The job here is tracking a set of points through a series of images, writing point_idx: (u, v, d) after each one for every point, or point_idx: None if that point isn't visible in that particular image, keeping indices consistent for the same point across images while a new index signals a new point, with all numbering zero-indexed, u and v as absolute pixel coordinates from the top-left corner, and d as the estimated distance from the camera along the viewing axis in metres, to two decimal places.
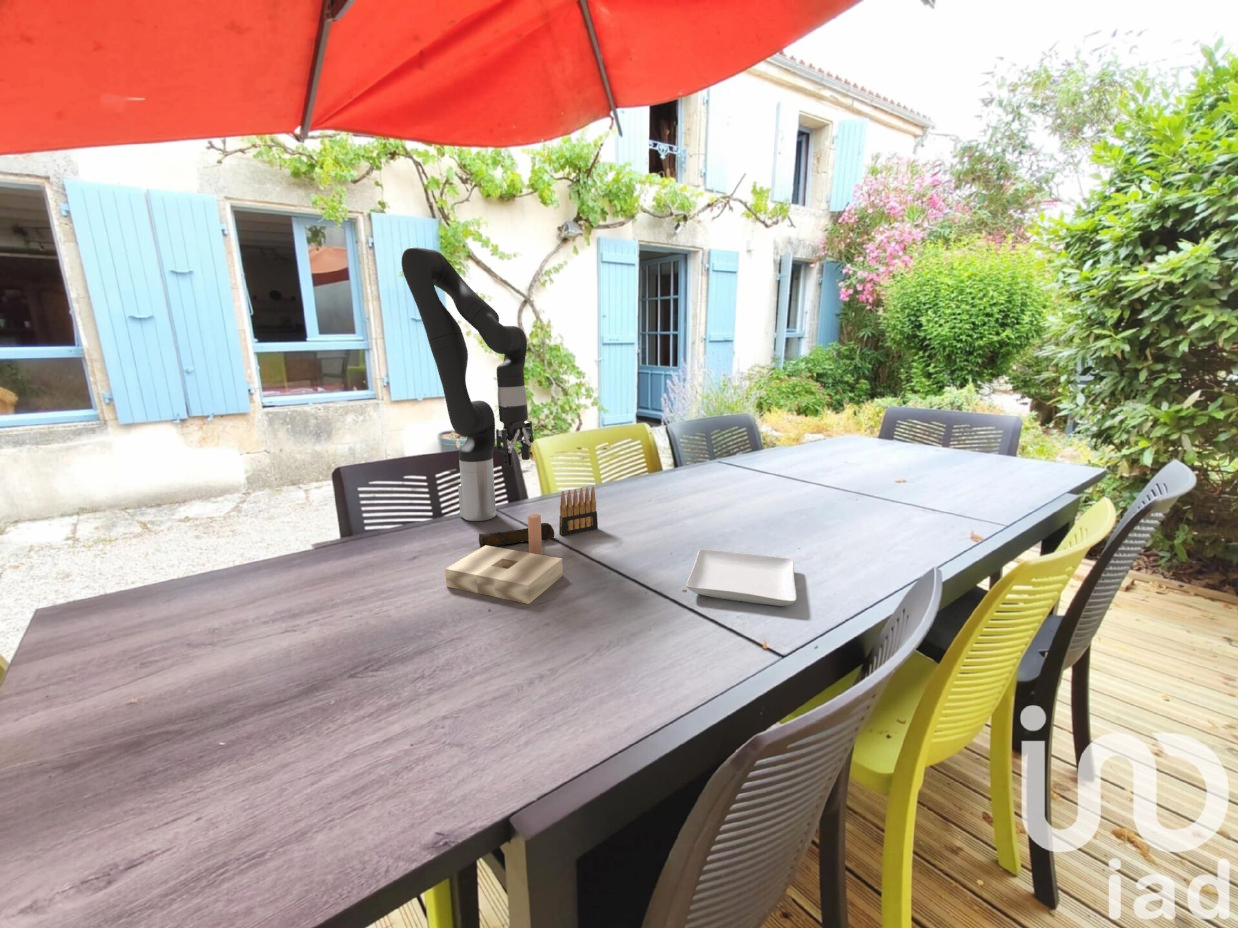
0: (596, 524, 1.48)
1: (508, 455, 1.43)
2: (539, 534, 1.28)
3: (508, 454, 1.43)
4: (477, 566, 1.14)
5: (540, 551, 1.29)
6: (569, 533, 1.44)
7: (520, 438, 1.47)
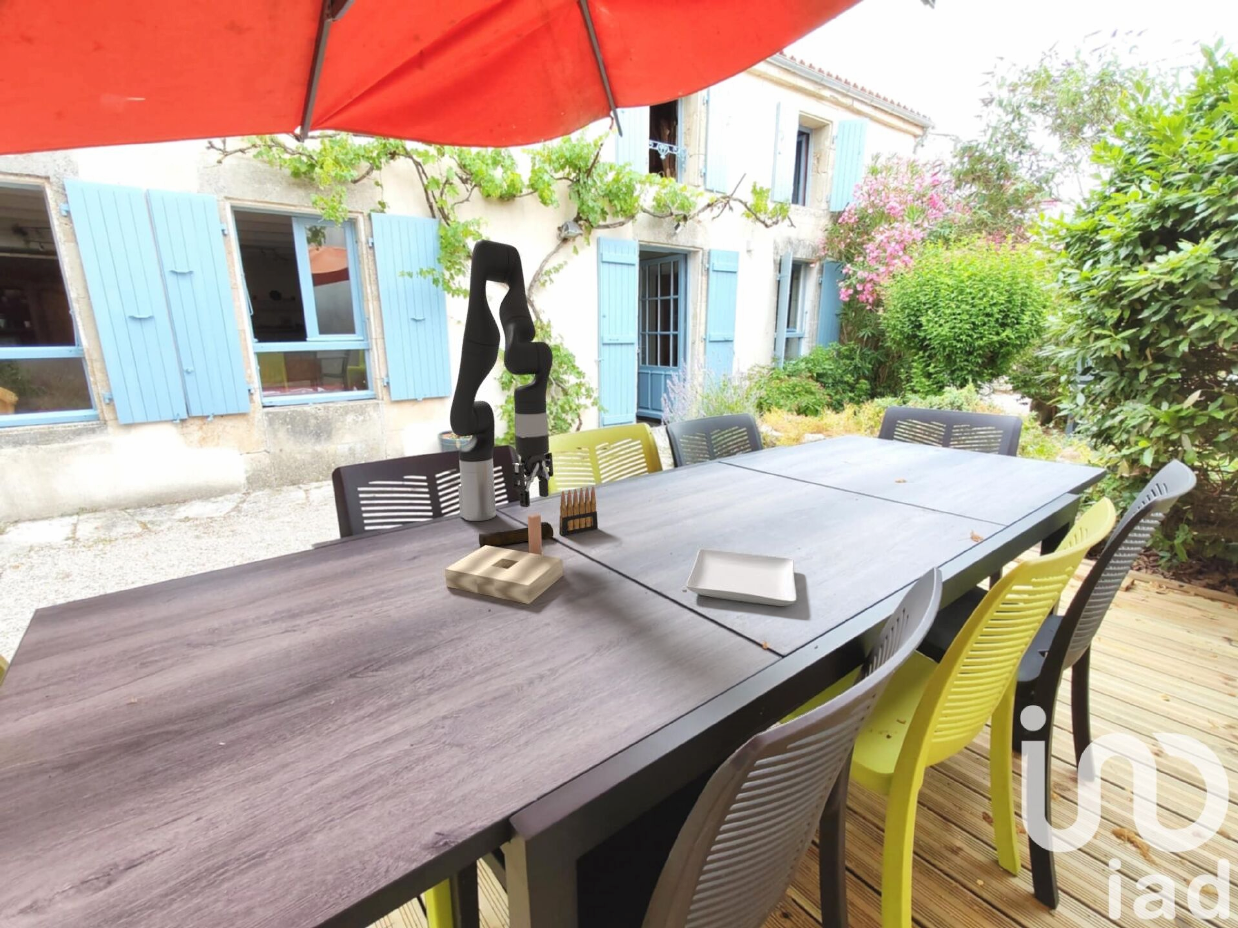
0: (596, 524, 1.48)
1: (525, 494, 1.21)
2: (539, 534, 1.28)
3: (525, 493, 1.21)
4: (477, 566, 1.14)
5: (540, 551, 1.29)
6: (569, 533, 1.44)
7: (539, 473, 1.26)
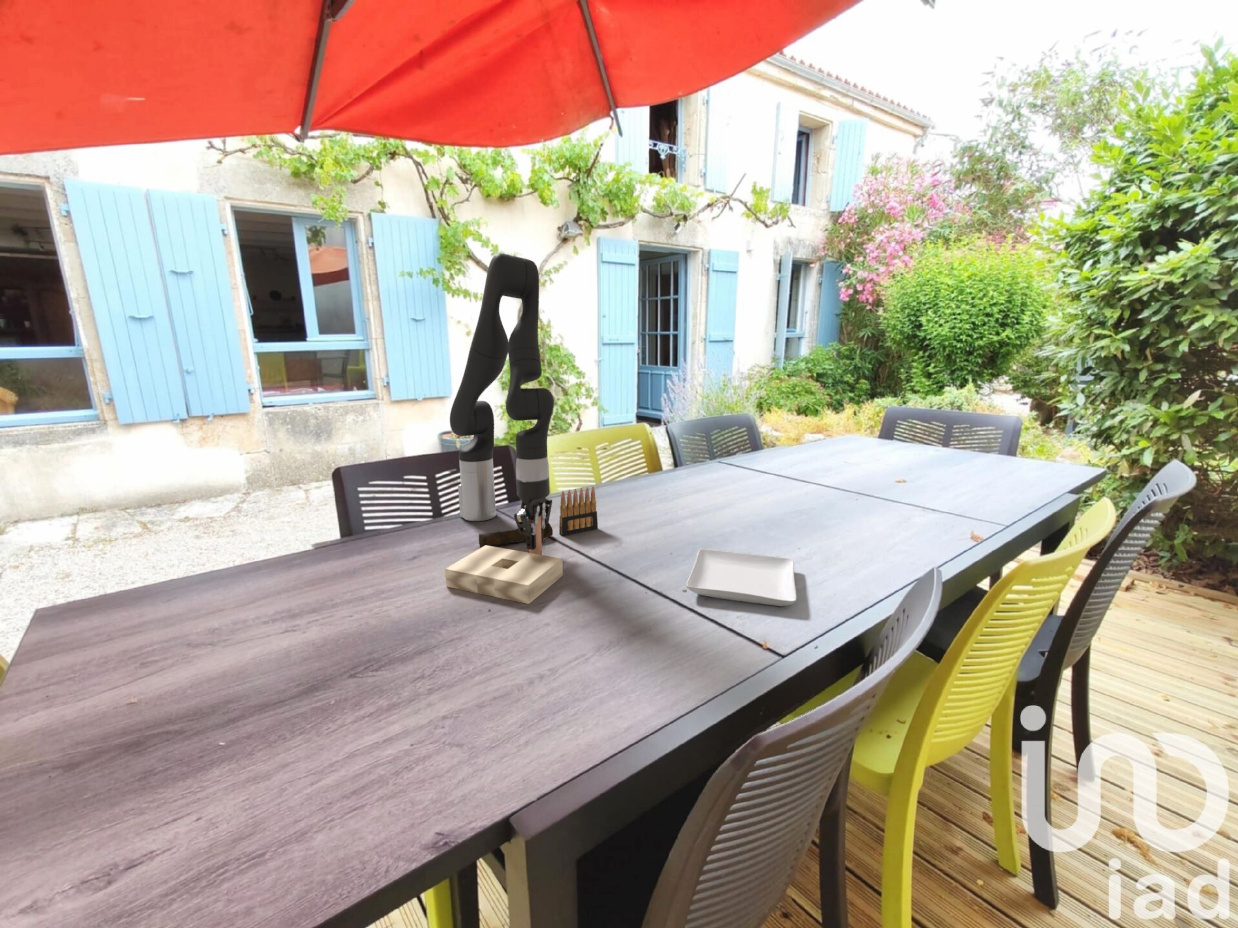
0: (596, 524, 1.48)
1: (531, 537, 1.26)
2: (539, 534, 1.28)
3: (532, 536, 1.26)
4: (477, 566, 1.14)
5: (540, 551, 1.29)
6: (569, 533, 1.44)
7: (537, 514, 1.27)
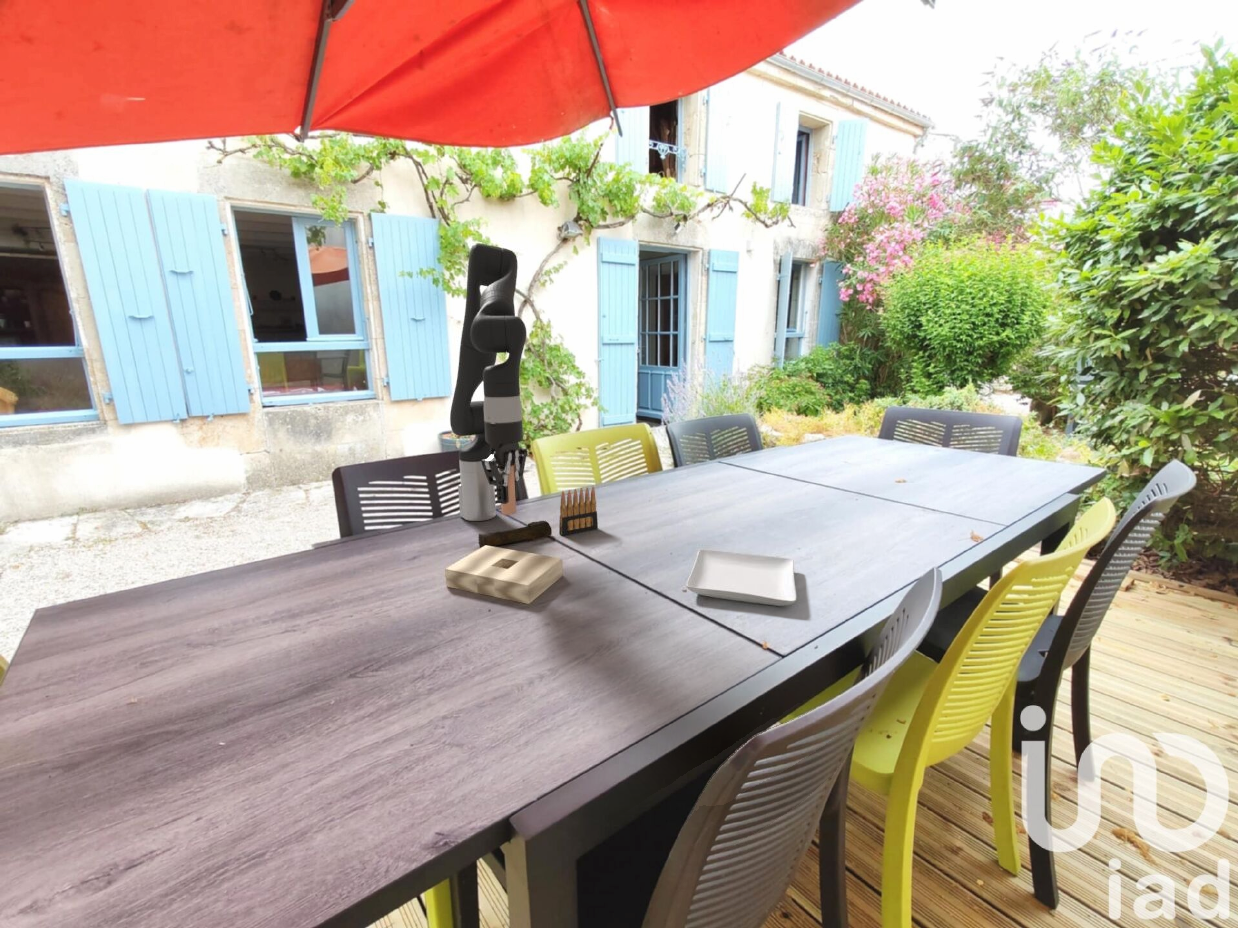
0: (596, 524, 1.48)
1: (503, 489, 1.10)
2: (513, 486, 1.12)
3: (503, 488, 1.10)
4: (477, 566, 1.14)
5: (514, 506, 1.13)
6: (569, 533, 1.44)
7: (509, 462, 1.11)
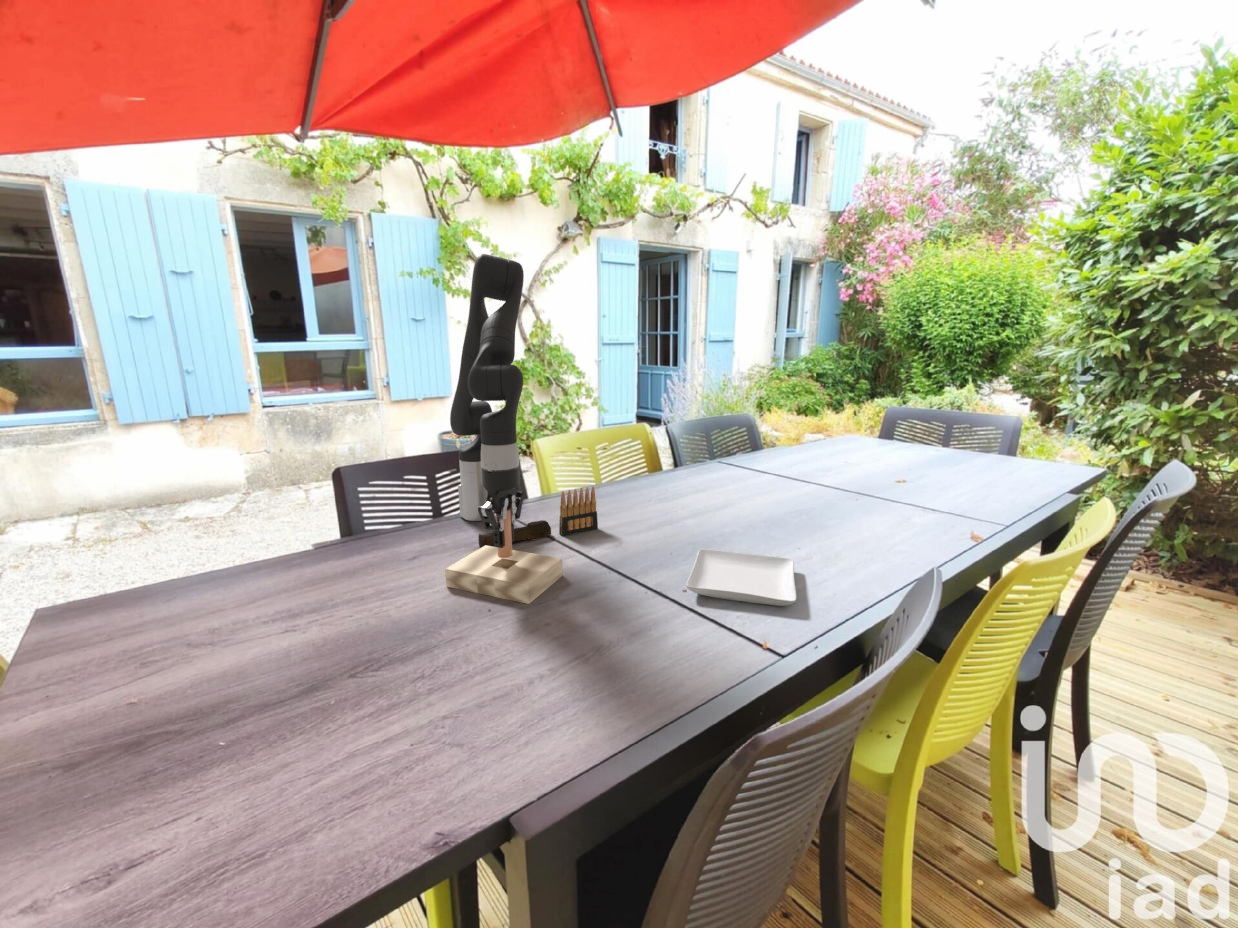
0: (596, 524, 1.48)
1: (499, 534, 1.12)
2: (509, 530, 1.13)
3: (499, 532, 1.12)
4: (477, 566, 1.14)
5: (510, 549, 1.15)
6: (569, 533, 1.44)
7: None
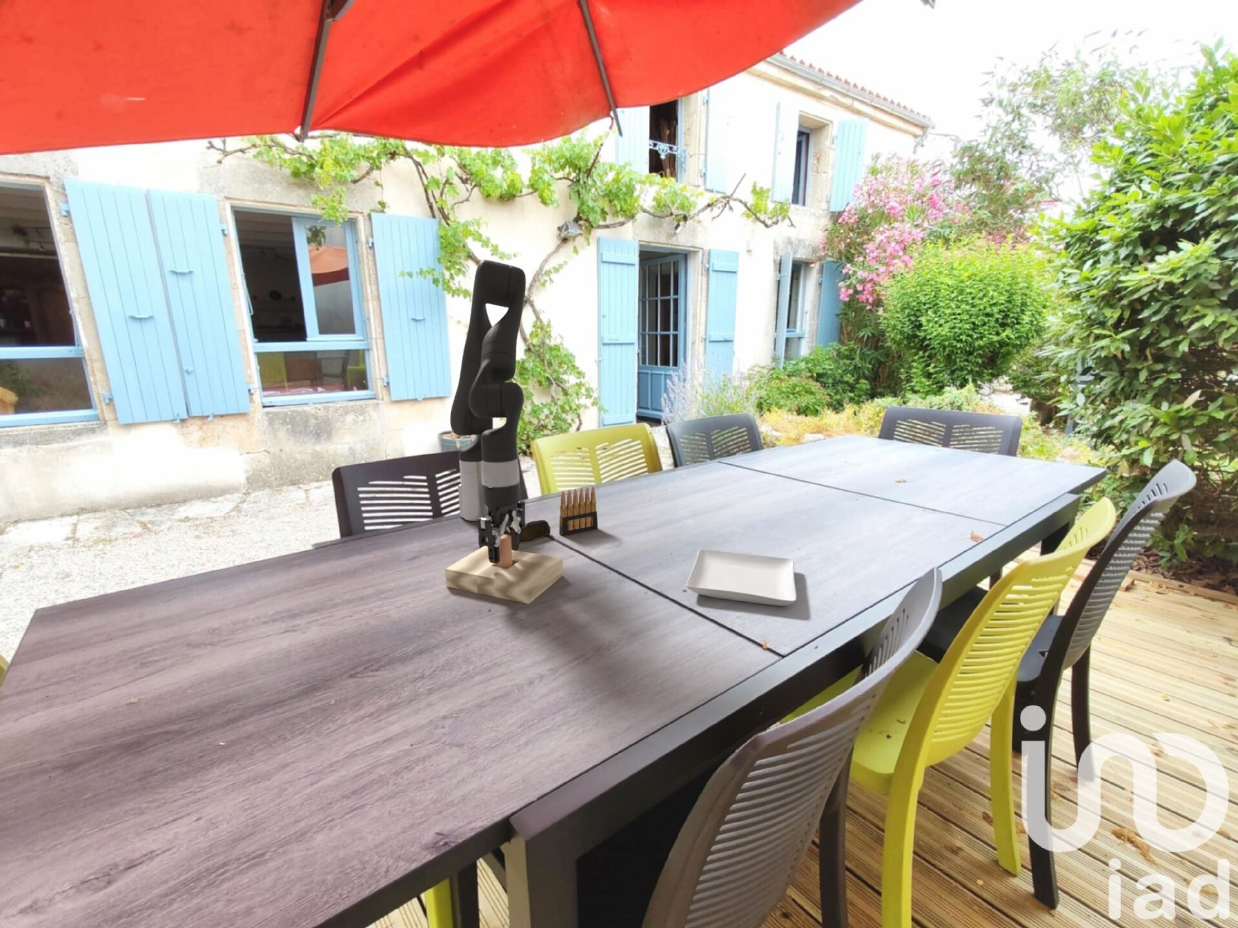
0: (596, 524, 1.48)
1: (494, 549, 1.11)
2: (510, 557, 1.15)
3: (494, 548, 1.11)
4: (477, 566, 1.14)
5: None
6: (569, 533, 1.44)
7: (508, 524, 1.14)
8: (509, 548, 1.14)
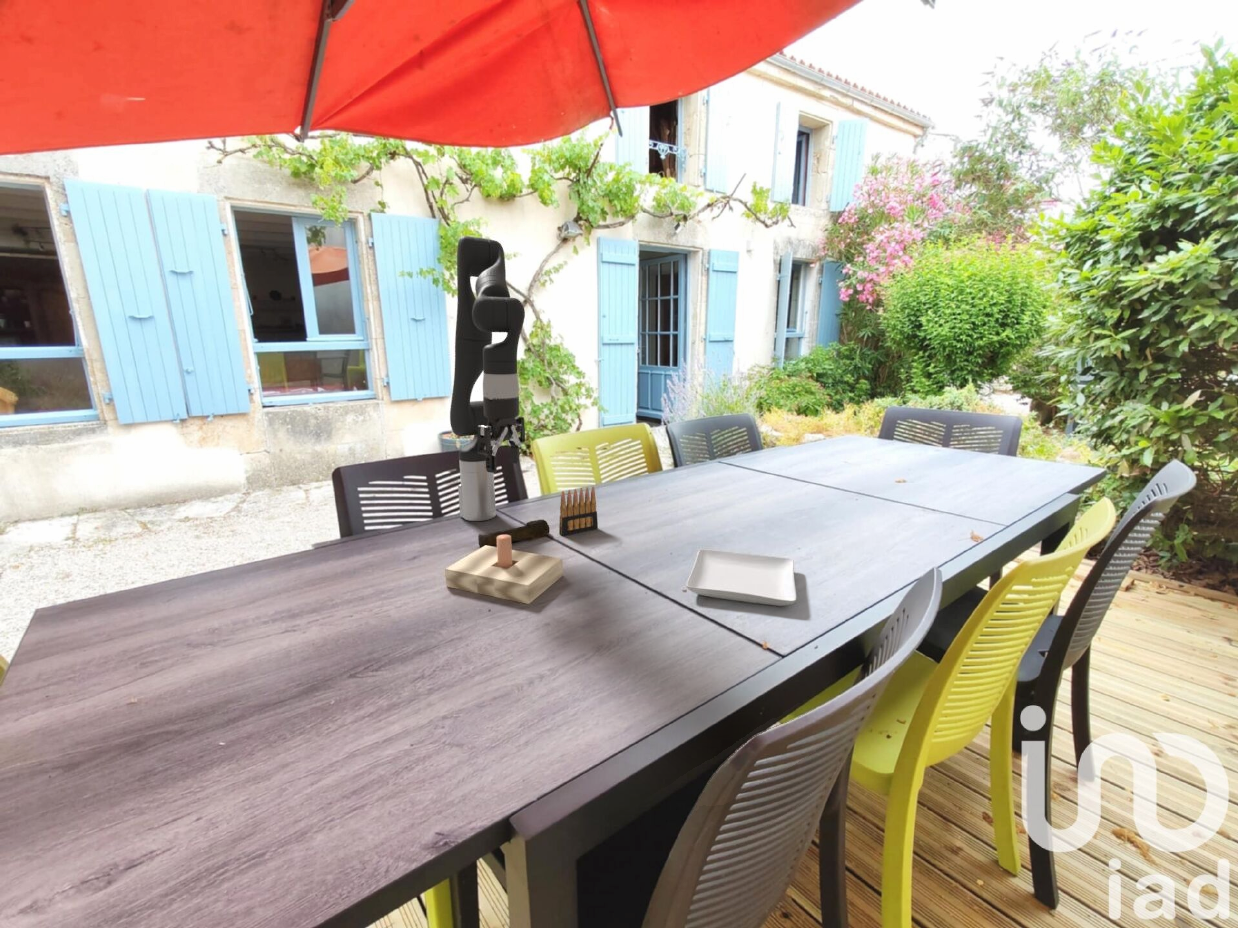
0: (596, 524, 1.48)
1: (491, 458, 1.16)
2: (510, 557, 1.15)
3: (491, 457, 1.15)
4: (477, 566, 1.14)
5: None
6: (569, 533, 1.44)
7: (508, 437, 1.20)
8: (509, 548, 1.14)
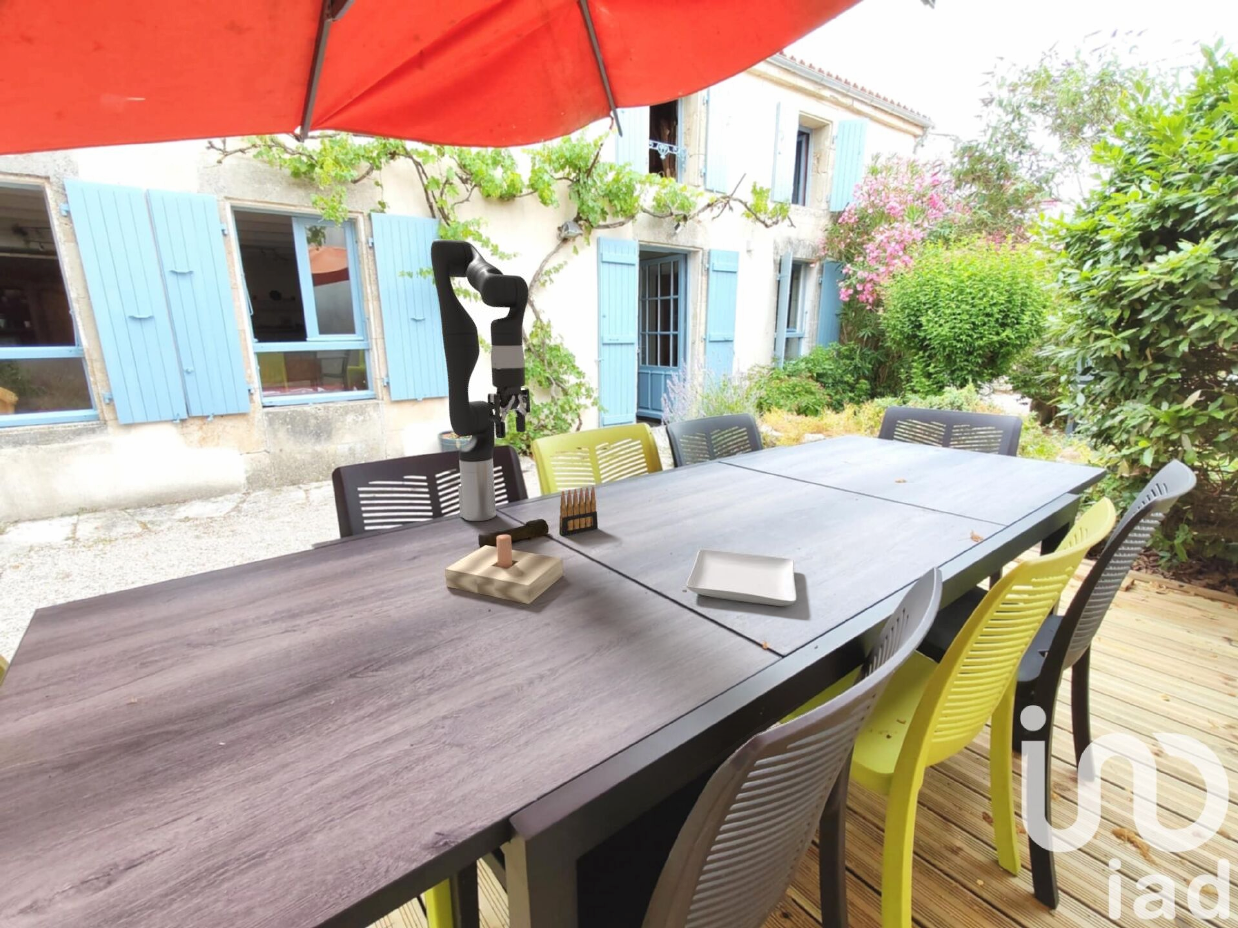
0: (596, 524, 1.48)
1: (501, 425, 1.24)
2: (510, 557, 1.15)
3: (501, 423, 1.24)
4: (477, 566, 1.14)
5: None
6: (569, 533, 1.44)
7: (515, 406, 1.29)
8: (509, 548, 1.14)
